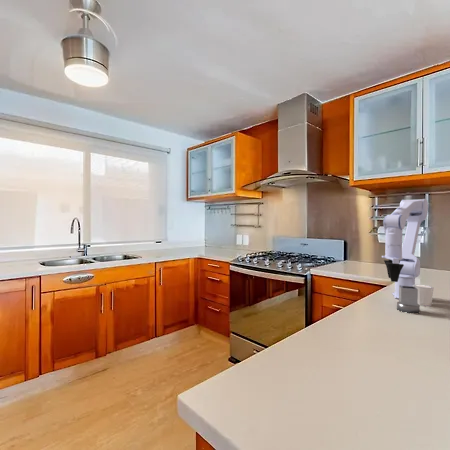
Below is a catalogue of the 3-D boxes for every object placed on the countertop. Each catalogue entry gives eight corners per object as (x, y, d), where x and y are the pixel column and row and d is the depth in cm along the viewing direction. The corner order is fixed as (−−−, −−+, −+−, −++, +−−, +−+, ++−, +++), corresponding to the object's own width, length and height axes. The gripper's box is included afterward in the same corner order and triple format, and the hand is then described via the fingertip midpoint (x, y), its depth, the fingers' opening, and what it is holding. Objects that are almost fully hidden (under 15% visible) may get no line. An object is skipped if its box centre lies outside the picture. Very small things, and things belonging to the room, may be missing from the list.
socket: (398, 301, 110) (399, 285, 110) (414, 302, 108) (414, 286, 108) (401, 304, 105) (401, 288, 105) (417, 306, 103) (417, 289, 103)
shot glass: (423, 306, 112) (424, 288, 112) (408, 302, 118) (408, 284, 118) (437, 305, 113) (438, 287, 113) (421, 301, 120) (421, 284, 120)
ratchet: (393, 302, 117) (393, 290, 117) (413, 304, 115) (414, 291, 115) (398, 312, 105) (398, 298, 105) (421, 314, 102) (421, 300, 102)
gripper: (380, 243, 123) (379, 275, 124) (384, 246, 110) (383, 282, 110) (399, 244, 121) (399, 277, 121) (405, 247, 107) (405, 284, 108)
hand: (392, 279), depth 115 cm, fingers open, 7 cm apart
